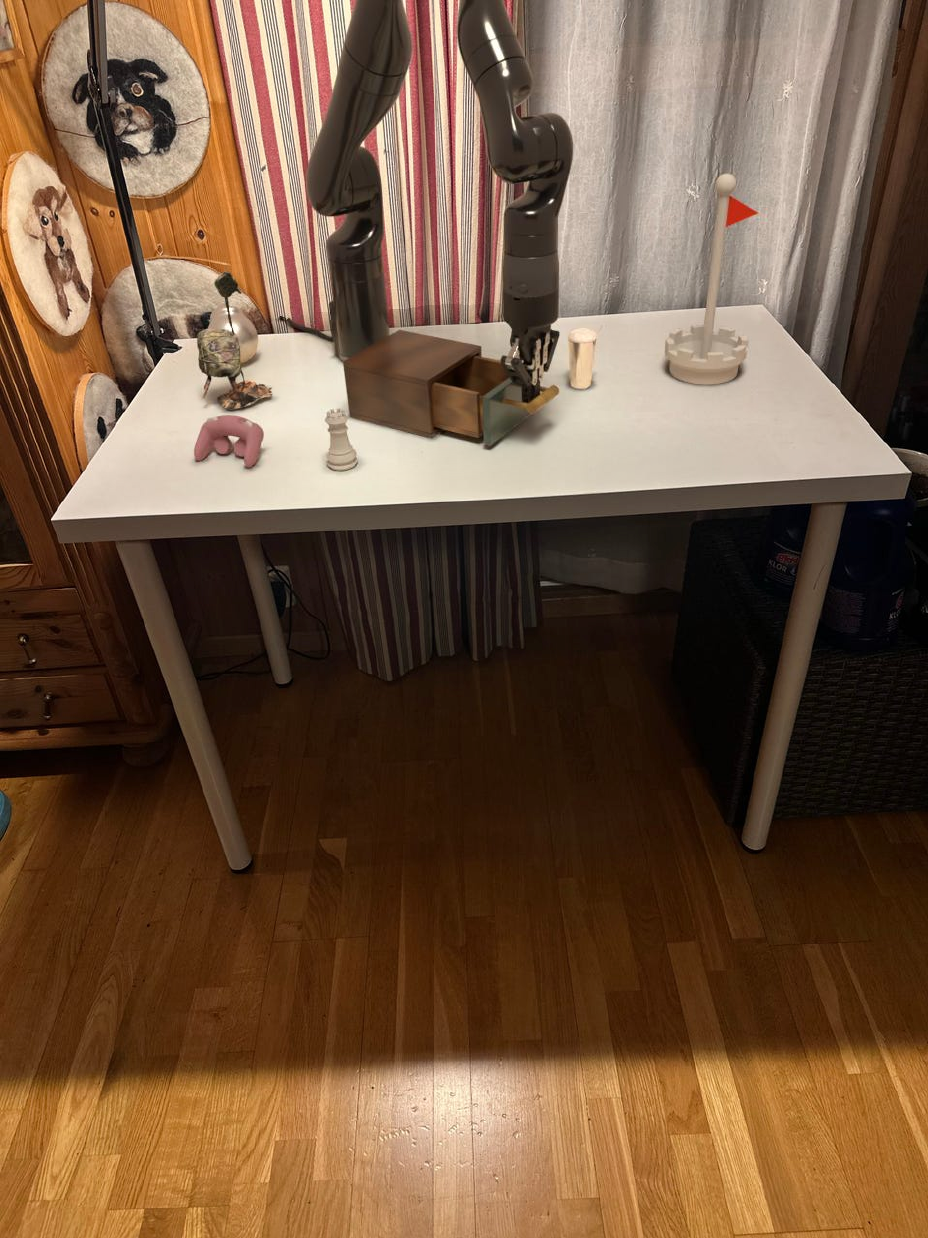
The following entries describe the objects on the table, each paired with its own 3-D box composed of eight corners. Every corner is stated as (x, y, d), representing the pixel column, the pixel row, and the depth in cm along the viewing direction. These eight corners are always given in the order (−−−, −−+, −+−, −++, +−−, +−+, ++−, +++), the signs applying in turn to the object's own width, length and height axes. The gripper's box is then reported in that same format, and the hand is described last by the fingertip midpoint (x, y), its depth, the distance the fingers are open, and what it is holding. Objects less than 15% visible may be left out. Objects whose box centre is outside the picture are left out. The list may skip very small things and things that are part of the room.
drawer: (568, 417, 139) (570, 371, 134) (524, 454, 130) (524, 406, 126) (457, 391, 148) (454, 347, 143) (408, 424, 139) (404, 379, 135)
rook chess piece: (364, 459, 133) (357, 408, 128) (348, 474, 130) (341, 421, 125) (337, 454, 135) (330, 403, 130) (321, 468, 131) (313, 416, 126)
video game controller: (266, 467, 136) (269, 419, 134) (249, 468, 131) (252, 418, 130) (208, 459, 138) (210, 412, 137) (190, 460, 134) (192, 411, 133)
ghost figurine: (266, 350, 168) (256, 295, 162) (258, 371, 161) (247, 314, 154) (216, 353, 168) (204, 298, 162) (206, 373, 161) (193, 317, 154)
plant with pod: (202, 396, 153) (173, 274, 141) (270, 385, 155) (247, 263, 143) (206, 416, 147) (176, 290, 135) (277, 404, 149) (254, 279, 137)
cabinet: (483, 401, 147) (481, 345, 141) (431, 438, 137) (427, 380, 132) (404, 382, 154) (399, 329, 148) (349, 417, 144) (342, 361, 139)
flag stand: (655, 381, 150) (672, 182, 131) (672, 351, 159) (690, 162, 141) (737, 391, 146) (767, 186, 127) (749, 360, 155) (779, 165, 137)
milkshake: (598, 391, 148) (601, 330, 142) (565, 389, 149) (566, 329, 143) (600, 379, 151) (603, 319, 145) (568, 378, 152) (569, 318, 146)
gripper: (530, 266, 129) (530, 384, 139) (480, 295, 120) (484, 418, 131) (579, 274, 125) (575, 394, 136) (530, 304, 117) (530, 429, 127)
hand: (530, 405), depth 133 cm, fingers closed
